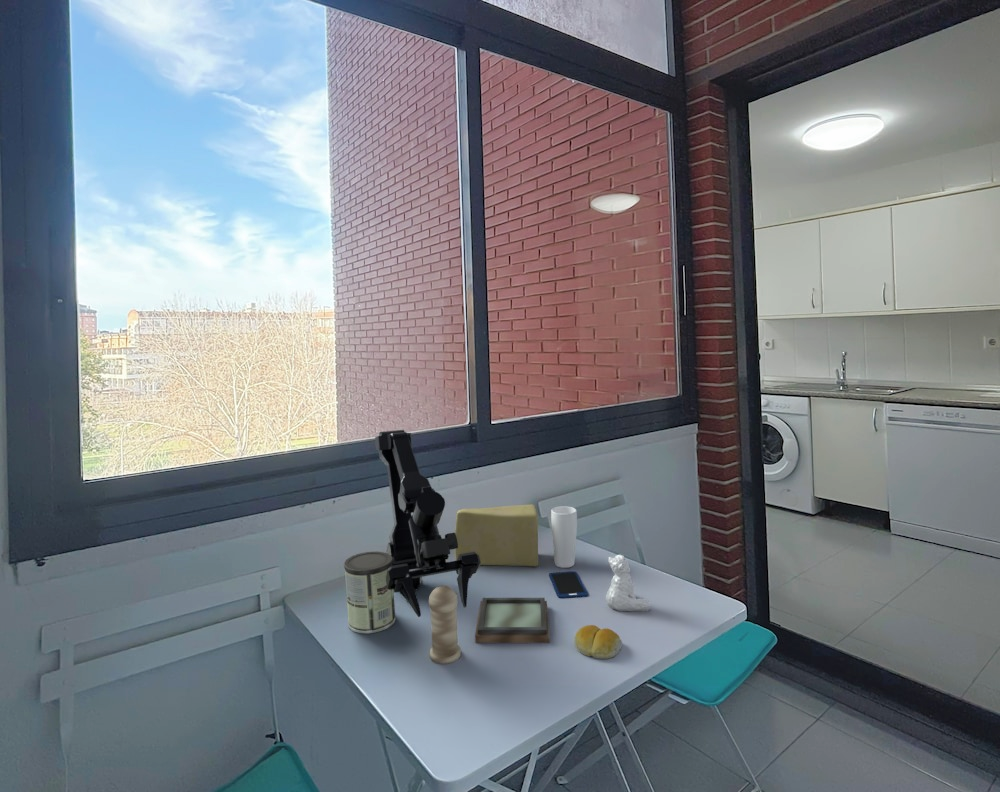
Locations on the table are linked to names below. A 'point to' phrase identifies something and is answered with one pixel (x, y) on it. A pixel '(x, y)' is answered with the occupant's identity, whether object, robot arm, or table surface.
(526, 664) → the table surface
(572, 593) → the cell phone
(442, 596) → the beige round-topped cylinder
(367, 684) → the table surface
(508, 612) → the picture frame
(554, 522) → the drinking glass
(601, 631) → the bread roll
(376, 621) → the coffee can
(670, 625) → the table surface
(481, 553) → the cheese
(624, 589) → the sitting furry creature
